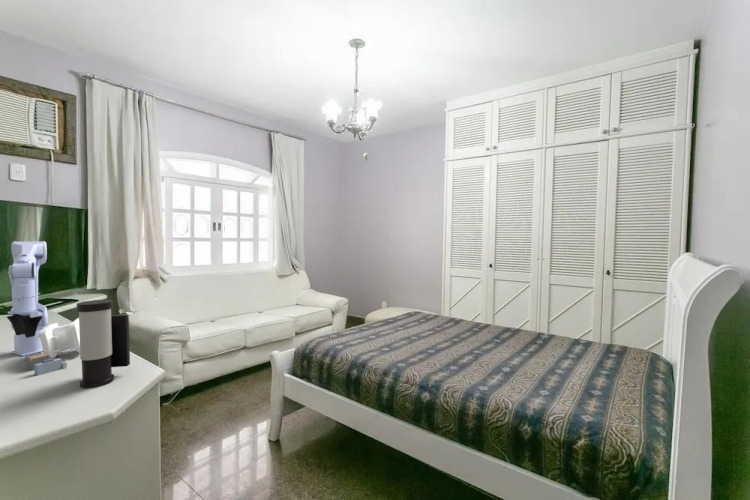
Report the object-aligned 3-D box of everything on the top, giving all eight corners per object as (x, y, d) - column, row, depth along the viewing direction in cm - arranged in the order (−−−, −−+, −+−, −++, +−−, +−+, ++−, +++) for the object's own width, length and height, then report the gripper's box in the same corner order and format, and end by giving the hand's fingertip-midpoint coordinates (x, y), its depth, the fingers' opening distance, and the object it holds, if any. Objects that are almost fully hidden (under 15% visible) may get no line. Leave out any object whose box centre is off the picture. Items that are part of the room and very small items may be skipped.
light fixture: (65, 390, 100) (62, 305, 99) (88, 375, 111) (86, 299, 110) (112, 386, 103) (109, 303, 102) (130, 372, 113) (128, 297, 112)
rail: (36, 361, 124) (36, 356, 124) (39, 360, 125) (39, 355, 125) (63, 368, 117) (62, 364, 117) (66, 367, 118) (66, 363, 118)
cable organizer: (81, 354, 127) (74, 323, 126) (43, 363, 122) (36, 331, 121) (90, 343, 140) (84, 315, 139) (56, 351, 135) (49, 322, 134)
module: (25, 368, 118) (24, 356, 118) (40, 364, 122) (40, 352, 122) (34, 370, 116) (33, 358, 115) (49, 366, 119) (49, 354, 119)
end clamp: (34, 374, 112) (34, 362, 112) (59, 367, 118) (58, 356, 118) (37, 375, 111) (37, 363, 111) (62, 368, 117) (61, 357, 117)
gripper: (-2, 297, 121) (-1, 336, 121) (18, 300, 115) (19, 341, 115) (25, 294, 127) (26, 331, 127) (45, 297, 121) (47, 335, 121)
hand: (25, 335), depth 122 cm, fingers open, 6 cm apart
